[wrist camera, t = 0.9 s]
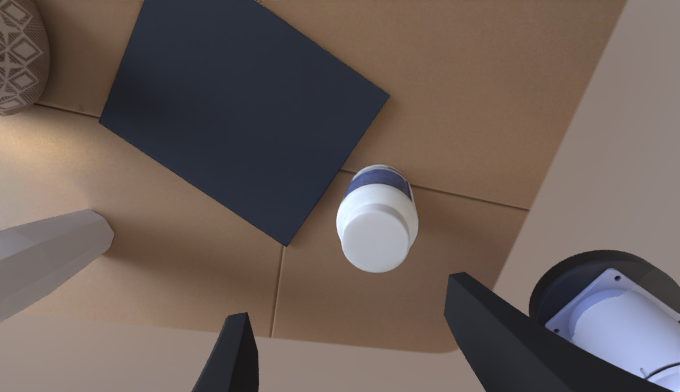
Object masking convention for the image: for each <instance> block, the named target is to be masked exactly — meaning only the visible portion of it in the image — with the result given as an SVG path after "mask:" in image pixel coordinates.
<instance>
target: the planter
mask: <svg viewBox="0 0 680 392" xmlns="http://www.w3.org/2000/svg"><path fill="white" fill-rule="evenodd" d="M49 70H50V48H49V42H48V37H47V33H46V30H45V27H44V24H43V21H42V19H41V16H40V14H39V12H38V10H37V8H36V6H35V4H34V2H33V1H32V0H0V116H7V115H13V114H16V113H19V112H22V111H24V110H26V109H27V108H29V107H30V106H31V105H33V104H34V103H35V102H36V101H37V99H38V98H39V97H40V95H41V94H42V92H43V90H44V88H45V86H46V83H47V80H48V76H49Z"/></svg>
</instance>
